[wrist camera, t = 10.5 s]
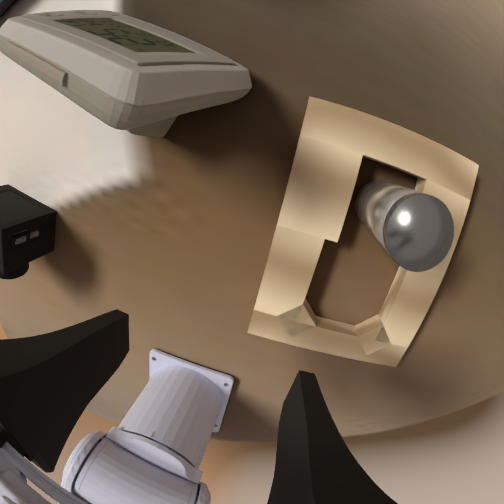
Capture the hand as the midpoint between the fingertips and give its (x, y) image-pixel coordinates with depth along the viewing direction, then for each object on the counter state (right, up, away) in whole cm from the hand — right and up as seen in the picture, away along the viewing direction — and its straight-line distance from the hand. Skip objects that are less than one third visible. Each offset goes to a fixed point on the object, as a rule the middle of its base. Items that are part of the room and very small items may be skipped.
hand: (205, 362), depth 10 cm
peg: (+10, +7, +6) cm, 14 cm away
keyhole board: (+9, +5, +7) cm, 13 cm away
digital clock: (-5, +18, +6) cm, 20 cm away
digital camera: (-22, +8, +12) cm, 26 cm away
